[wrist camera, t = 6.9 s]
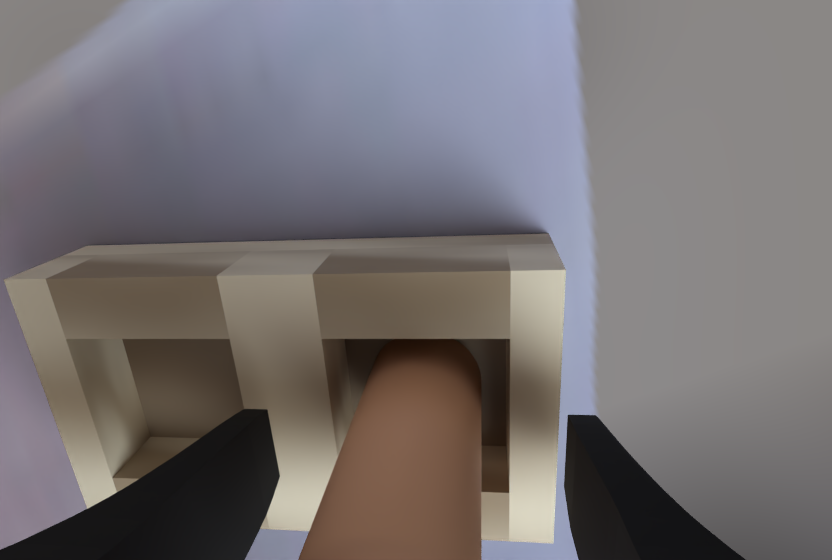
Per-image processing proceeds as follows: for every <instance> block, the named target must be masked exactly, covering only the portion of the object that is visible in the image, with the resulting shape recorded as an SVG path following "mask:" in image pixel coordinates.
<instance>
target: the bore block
mask: <svg viewBox="0 0 832 560" xmlns="http://www.w3.org/2000/svg"><path fill="white" fill-rule="evenodd" d="M565 277H566V269H565V267H564V265H563V263H562V261H561V259H560V257H559V254H558V252H557V250H556V248H555V246H554V244H553V242H552V240H551V238H550V235H549V233H548V234H510V235H472V236H434V237H396V238H359V239H321V240H283V241H245V242H207V243H169V244H131V245H93V246H85V247H83V248H80V249H78V250H75V251H73V252H70V253H68V254H66V255H63V256H61V257H58V258H56V259H53V260H51V261H48V262H46V263H43V264H41V265H38V266H36V267H33V268H31V269H29V270H26V271H24V272H21V273H19V274H16V275H14V276H11V277H9V278H6V279H4V282H5V285H6V288H7V290H8V293H9V296H10V299H11V301H12V304H13V307H14V310H15V312H16V315H17V318H18V320H19V323H20V326H21V329H22V331H23V334H24V337H25V340H26V342H27V345H28V348H29V351H30V353H31V356H32V359H33V361H34V364H35V367H36V370H37V372H38V375H39V378H40V381H41V383H42V386H43V389H44V392H45V394H46V397H47V400H48V402H49V405H50V408H51V411H52V413H53V416H54V419H55V422H56V424H57V427H58V430H59V433H60V435H61V438H62V441H63V443H64V446H65V449H66V452H67V454H68V457H69V460H70V463H71V465H72V468H73V471H74V474H75V476H76V479H77V482H78V485H79V487H80V490H81V493H82V495H83V498H84V501H85V504H86V506H87V509H88V508H90V507H91V506H93V505H95V504H97V503H99V502H101V501H103V500H104V499H106V498H108V497H110V496H111V495H113V494H115V493H117V492H118V491H120V490H122V489H123V488H125V487H127V486H129V485H130V484H132V483H133V482H135V481H136V480H138V479H140V478H141V477H143V476H144V475H146V474H147V473H149V472H151V471H152V470H154V469H155V468H157V467H158V466H160V465H161V464H163V463H165V462H166V461H168V460H169V459H171V458H172V457H174V456H175V455H177V454H178V453H180V452H181V451H182V450H184V449H185V448H187V447H188V446H190V445H191V444H193V443H194V442H195V441H197V440H198V439H200V438H201V437H203V436H204V435H206V434H207V433H208V432H210V431H211V430H213V429H214V428H216V427H217V426H218V425H220V424H221V423H223V422H224V421H226V420H227V419H229V418H230V417H232V416H233V415H235V414H236V413H238V412H240V411H241V410H243V409H267V410H268V415H269V420H270V426H271V431H272V436H273V441H274V447H275V452H276V457H277V463H278V468H279V473H280V478H279V481H278V484H277V487H276V490H275V493H274V496H273V499H272V502H271V504H270V507H269V510H268V512H267V515H266V517H265V519H264V521H263V523H262V526H261V528H260V529H276V530H296V531H310V528H311V526H312V523H313V520H314V518H315V515H316V513H317V510H318V507H319V505H320V502H321V500H322V497H323V494H324V492H325V489H326V487H327V484H328V481H329V479H330V476H331V474H332V471H333V468H334V466H335V463H336V461H337V458H338V455H339V453H340V450H341V448H342V445H343V442H344V440H345V437H346V435H347V432H348V430H349V427H350V424H351V422H352V419H353V417H354V414H355V411H356V409H357V406H358V404H359V401H360V398H361V396H362V393H363V391H364V388H365V385H366V383H367V380H368V378H369V375H370V372H371V370H372V367H373V365H374V362H375V360H376V358H377V356H378V354H379V352H380V351H381V350H382V348H383V347H384V346H385V345H386V344H388V343H389V342H390V341H391V340H393V339H455V340H456V341H458V342H460V343H461V344H462V345H463V346H465V347H466V348H467V349H468V350H469V352H470V353H471V354H472V355H473V357H474V358H475V360H476V362H477V364H478V366H479V369H480V373H481V540H495V541H515V542H535V543H553V540H554V518H555V496H556V474H557V452H558V430H559V408H560V387H561V365H562V343H563V321H564V299H565Z"/></svg>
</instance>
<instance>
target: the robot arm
mask: <svg viewBox="0 0 832 560" xmlns="http://www.w3.org/2000/svg"><path fill="white" fill-rule="evenodd" d="M279 478H280V473H279V468H278V463H277V457H276V452H275V447H274V441H273V436H272V431H271V426H270V420H269V415H268V410H267V409H243V410H241V411H240V412H238V413H236V414H235V415H233V416H232V417H230V418H229V419H227V420H226V421H224V422H223V423H221V424H220V425H218V426H217V427H216V428H214V429H213V430H211V431H210V432H208V433H207V434H206V435H204V436H203V437H201V438H200V439H198V440H197V441H195V442H194V443H193V444H191V445H190V446H188V447H187V448H185V449H184V450H182V451H181V452H180V453H178V454H177V455H175V456H174V457H172V458H171V459H169V460H168V461H166V462H165V463H163V464H161V465H160V466H158V467H157V468H155V469H154V470H152V471H151V472H149V473H147V474H146V475H144V476H143V477H141V478H140V479H138V480H136V481H135V482H133V483H132V484H130V485H129V486H127V487H125V488H123V489H122V490H120V491H118V492H117V493H115V494H113V495H111V496H110V497H108V498H106V499H104V500H103V501H101V502H99V503H97V504H95V505H93V506H91V507H90V508H88V509H86V510H84V511H82V512H80V513H78V514H76V515H75V516H73V517H71V518H68V519H66V520H64V521H62V522H60V523H58V524H56V525H54V526H52V527H50V528H47V529H45V530H43V531H41V532H39V533H37V534H35V535H33V536H31V537H29V538H26V539H24V540H22V541H20V542H18V543H15V544H13V545H11V546H8V547H6V548H4V549H1V550H0V560H245V558H246V556H247V554H248V552H249V550H250V548H251V546H252V544H253V542H254V540H255V538H256V536H257V534H258V532H259V530H260V528H261V526H262V523H263V521H264V519H265V517H266V515H267V512H268V510H269V507H270V504H271V502H272V499H273V496H274V493H275V490H276V487H277V484H278V481H279ZM564 488H565V495H566V502H567V509H568V515H569V522H570V528H571V532H572V536H573V540H574V544H575V548H576V551H577V555H578V559H579V560H745V559H744V558H743V557H741V556H740V555H739V554H737V553H736V552H735V551H733V550H732V549H731V548H730V547H728V546H727V545H726V544H725V543H723V542H722V541H721V540H720V539H718V538H717V537H716V536H715V535H713V534H712V533H711V532H710V531H709V530H707V529H706V528H705V527H703V526H702V525H701V524H700V523H699V522H698V521H697V520H695V519H694V518H693V517H692V516H691V515H690V514H689V513H687V512H686V511H685V510H684V509H683V508H682V507H681V506H680V505H679V504H678V503H677V502H676V501H675V500H674V499H673V498H671V497H670V496H669V495H668V494H667V493H666V492H665V491H664V490H663V489H662V488H661V487H660V486H659V485H658V484H657V483H656V482H655V481H654V480H653V479H652V477H650V475H649V474H648V473H647V472H646V471H645V470H644V469H643V468H642V467H641V466H640V465H639V464H638V463H637V462H636V461H635V460H634V458H633V457H632V456H631V455H630V454H629V453H628V452H627V451H626V450H625V449H624V447H623V446H622V445H621V444H620V443H619V441H617V439H616V438H615V437H614V436H613V435H612V433H611V432H610V431H609V430H608V429H607V427H606V426H605V425H604V424H603V423H602V421H601V420H600V419H599V418H598V417H597V416H596V415H568V423H567V443H566V462H565V481H564Z"/></svg>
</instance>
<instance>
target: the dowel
mask: <svg viewBox="0 0 832 560" xmlns="http://www.w3.org/2000/svg"><path fill="white" fill-rule="evenodd" d="M298 560H481V373H480V369H479V366H478V364H477V362H476V360H475V358H474V357H473V355H472V354H471V353H470V352H469V350H468V349H467V348H466V347H465V346H463V345H462V344H461V343H460V342H458V341H456V340H455V339H393V340H391V341H390V342H389V343H388V344H386V345H385V346H384V347H383V348H382V350H381V351H380V352H379V354H378V356H377V358H376V360H375V362H374V365H373V367H372V370H371V372H370V375H369V378H368V380H367V383H366V385H365V388H364V391H363V393H362V396H361V398H360V401H359V404H358V406H357V409H356V411H355V414H354V417H353V419H352V422H351V424H350V427H349V430H348V432H347V435H346V437H345V440H344V442H343V445H342V448H341V450H340V453H339V455H338V458H337V461H336V463H335V466H334V468H333V471H332V474H331V476H330V479H329V481H328V484H327V487H326V489H325V492H324V494H323V497H322V500H321V502H320V505H319V507H318V510H317V513H316V515H315V518H314V520H313V523H312V526H311V528H310V531H309V533H308V536H307V539H306V541H305V544H304V546H303V549H302V552H301V554H300V557H299V559H298Z"/></svg>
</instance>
